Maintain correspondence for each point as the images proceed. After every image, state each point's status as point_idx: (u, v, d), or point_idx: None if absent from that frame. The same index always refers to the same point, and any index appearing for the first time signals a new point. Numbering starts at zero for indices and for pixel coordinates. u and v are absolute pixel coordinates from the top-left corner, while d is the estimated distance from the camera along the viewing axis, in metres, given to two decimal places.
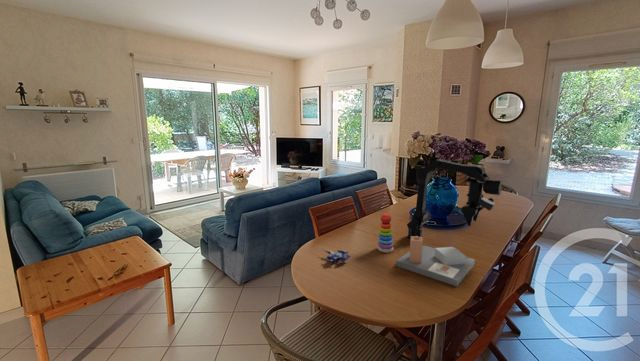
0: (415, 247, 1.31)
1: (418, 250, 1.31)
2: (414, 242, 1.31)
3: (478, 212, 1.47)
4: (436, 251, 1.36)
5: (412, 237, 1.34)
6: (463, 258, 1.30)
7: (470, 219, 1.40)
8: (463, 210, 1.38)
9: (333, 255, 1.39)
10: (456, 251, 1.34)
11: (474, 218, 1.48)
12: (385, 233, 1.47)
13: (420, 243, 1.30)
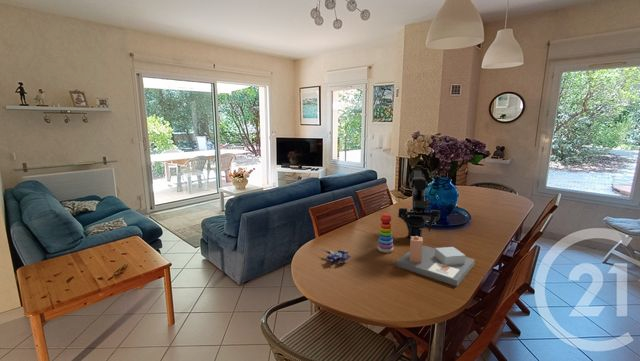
0: (415, 247, 1.31)
1: (418, 250, 1.31)
2: (414, 242, 1.31)
3: (429, 221, 1.40)
4: (436, 251, 1.36)
5: (412, 237, 1.34)
6: (463, 258, 1.30)
7: (405, 222, 1.43)
8: (398, 214, 1.48)
9: (333, 255, 1.39)
10: (456, 251, 1.34)
11: (428, 229, 1.39)
12: (385, 233, 1.47)
13: (420, 243, 1.30)
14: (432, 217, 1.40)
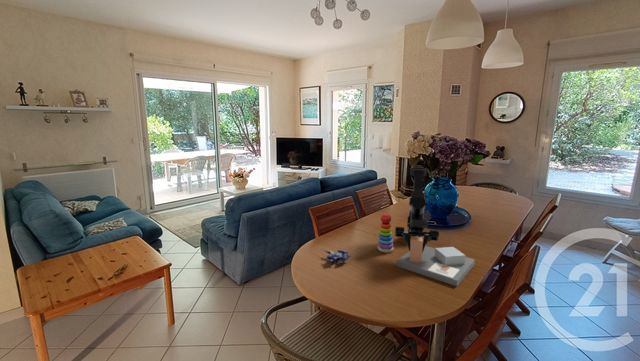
0: (415, 247, 1.31)
1: (418, 250, 1.31)
2: (414, 242, 1.31)
3: (423, 241, 1.33)
4: (436, 251, 1.36)
5: (412, 237, 1.34)
6: (463, 258, 1.30)
7: (407, 242, 1.35)
8: (395, 233, 1.41)
9: (333, 255, 1.39)
10: (456, 251, 1.34)
11: (422, 249, 1.32)
12: (385, 233, 1.47)
13: (420, 243, 1.30)
14: (426, 237, 1.33)
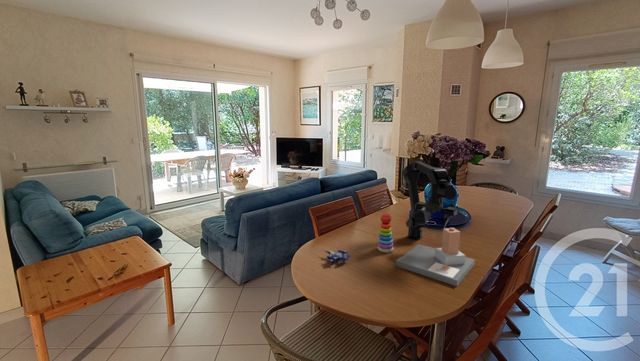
0: (453, 239, 1.30)
1: (456, 242, 1.30)
2: (452, 234, 1.29)
3: (444, 219, 1.43)
4: (436, 251, 1.36)
5: (446, 229, 1.32)
6: (463, 258, 1.30)
7: None
8: None
9: (333, 255, 1.39)
10: None
11: None
12: (385, 233, 1.47)
13: (457, 234, 1.30)
14: (446, 217, 1.41)
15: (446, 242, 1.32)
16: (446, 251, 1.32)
